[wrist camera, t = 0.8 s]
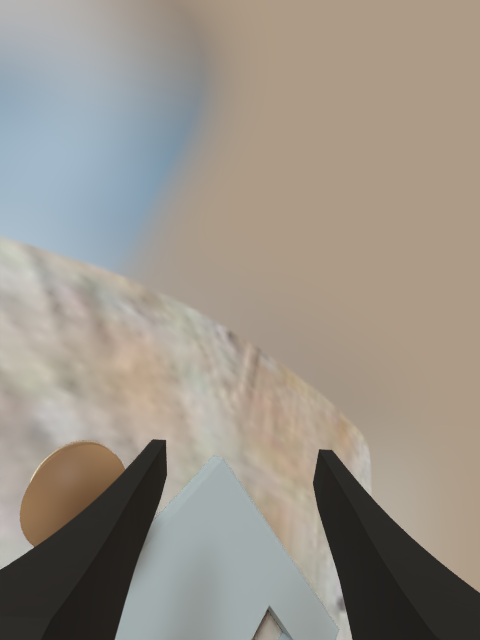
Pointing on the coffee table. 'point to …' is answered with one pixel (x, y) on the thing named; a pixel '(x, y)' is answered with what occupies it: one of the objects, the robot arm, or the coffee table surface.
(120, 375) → the coffee table surface
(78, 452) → the peg
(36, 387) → the coffee table surface
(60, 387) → the coffee table surface
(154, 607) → the board
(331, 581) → the coffee table surface
